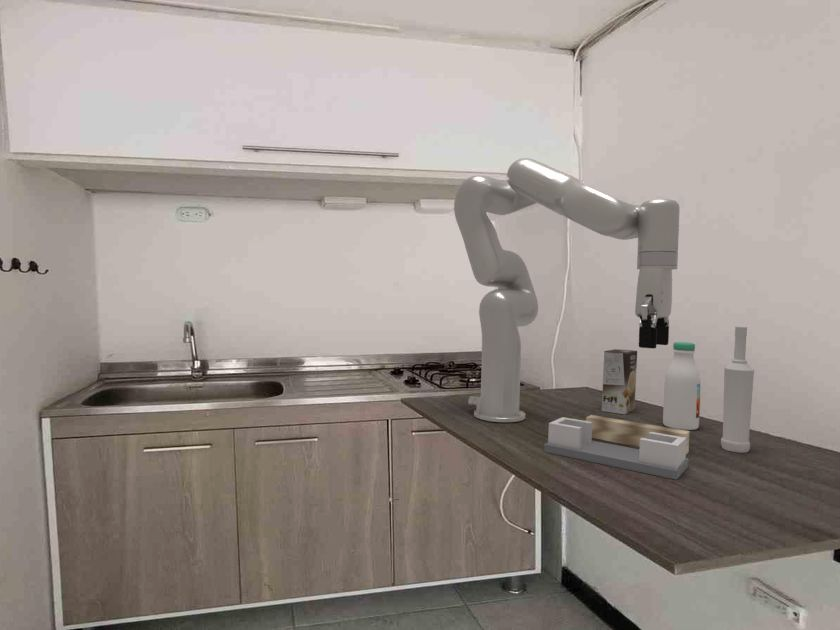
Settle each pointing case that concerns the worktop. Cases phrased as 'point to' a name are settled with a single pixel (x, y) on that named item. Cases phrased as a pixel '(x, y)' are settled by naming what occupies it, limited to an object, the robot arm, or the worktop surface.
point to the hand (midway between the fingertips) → (653, 346)
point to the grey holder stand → (618, 449)
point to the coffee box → (619, 381)
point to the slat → (629, 431)
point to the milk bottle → (682, 389)
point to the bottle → (737, 398)
